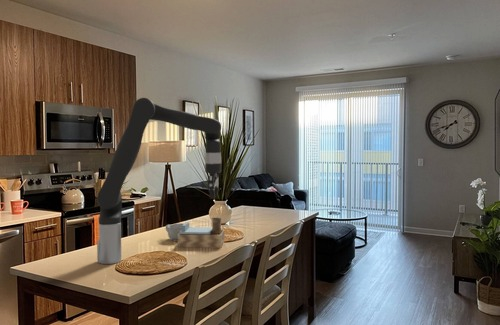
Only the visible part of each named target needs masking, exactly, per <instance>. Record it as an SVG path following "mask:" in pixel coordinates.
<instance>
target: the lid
mask: <svg viewBox="0 0 500 325" xmlns="http://www.w3.org/2000/svg"><path fill="white" fill-rule="evenodd" d="M182 224H183V225H182V230H181V231H180V234H210V233H211V232H212V226H190V221H185V222H184V223H182Z"/></svg>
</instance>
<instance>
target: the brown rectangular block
mask: <svg viewBox="0 0 500 325" xmlns="http://www.w3.org/2000/svg"><path fill="white" fill-rule="evenodd" d="M211 222H212V224H211V227H212V235H220V234H221V230H222V216H213V217H212V219H211Z"/></svg>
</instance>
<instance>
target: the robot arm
mask: <svg viewBox="0 0 500 325" xmlns="http://www.w3.org/2000/svg"><path fill="white" fill-rule="evenodd" d="M151 120H153V121H159V122H164V123H168V124H171V125H175V126H178V127H182V128H186V129H189V130H193V131H200V132H204V135H205V136H204V137H205V155H204V156H205V157H204V161H205V162H204V164H205V165H204V166H205V167H204V168H205V170H204V171H205V173H207V174H209V175H208V176H207V189H208V190H209V191H208V192H209V199H210V200H211V199H215V197H218V196H219V193H218V189H219V184H220V183H219V174H220V173H222V150H221V147H222V146H221V140H220V133H221V131H222V130H221V129H222V124H221V122H220V121H219V120H217V119H215V118H212V117H207V116H202V115H201V116H200V115H198V114H195V113H192V112H188V111H182V110H177V109H170V108H166V107H164V106H161V105H158V104H156V103H154V102H153V101H152V100H151V99H150V98H148V97H147V98H146V97H140V98H138V99H137V100H135V101H134V103H133V106H132V111H131V114H130V117H129V120H128V124H127V126H126V128H125V130H124V131H123V133H122V136H121V138H120V140H119V142H118V144H117V146H116V149H115V152H114V154H113V157H112V159H111V163H110V166H109V169H108V173H107V175H106V178H105V180H104V182H103V183H102V185H101V187H100V188H99V191H98V193H97V196H96V202H97V204H98V206H99V207H100V211H99V216H98V240H97V241H96V242H97V243H96V249H97V251H96V252H97V259H96V260H97V261H96V262H97V263H98V264H102V265H111V264H117V263H119V262H122V215H123V214H122V213H123V205H122V204H123V203H122V202H123V200H122V199H123V198H122V193H121V190H122V187H123V184H124V182H125V179H126V178H127V176H128V175H129V173H130V172H131V170H132V168H133V166H134V164H135V162H136V160H137V158H138V155H139V153H140V149H141V146H142V143H143V142H142V141H143V136H144V133H145V131H146V130H145V129H146V128H147V126H148V123H149V122H150V121H151Z"/></svg>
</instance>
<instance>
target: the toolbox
mask: <svg viewBox="0 0 500 325" xmlns="http://www.w3.org/2000/svg"><path fill="white" fill-rule="evenodd" d="M225 230H226V229H221V234H220V235H212V232H211V233H210V234H180V233H179V234H178V241H177V247H178V248H219V249H220V248H222V247H224V246H223V245H224V244H225V239H226V238H225V233H226V232H225Z"/></svg>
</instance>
